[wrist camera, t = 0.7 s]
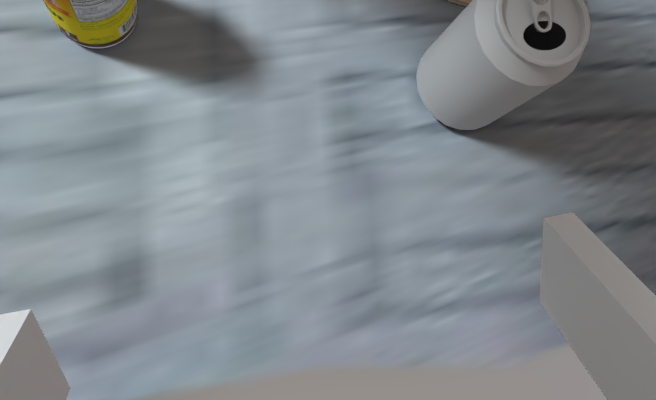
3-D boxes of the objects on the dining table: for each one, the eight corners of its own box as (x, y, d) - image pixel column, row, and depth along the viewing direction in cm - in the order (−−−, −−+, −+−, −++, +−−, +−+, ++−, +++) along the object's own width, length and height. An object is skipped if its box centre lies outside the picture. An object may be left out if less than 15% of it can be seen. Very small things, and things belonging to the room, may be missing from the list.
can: (425, 140, 43) (507, 83, 32) (402, 48, 44) (474, -40, 33) (510, 125, 45) (617, 67, 34) (487, 37, 46) (583, -50, 35)
